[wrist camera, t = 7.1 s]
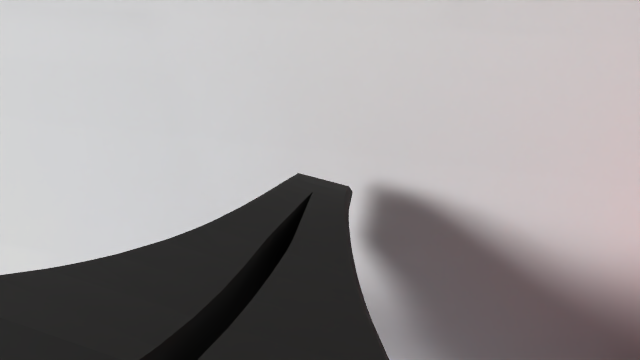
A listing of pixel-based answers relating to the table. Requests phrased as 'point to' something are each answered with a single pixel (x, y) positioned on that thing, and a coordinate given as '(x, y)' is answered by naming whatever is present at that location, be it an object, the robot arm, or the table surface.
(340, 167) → the table surface
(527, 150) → the table surface
